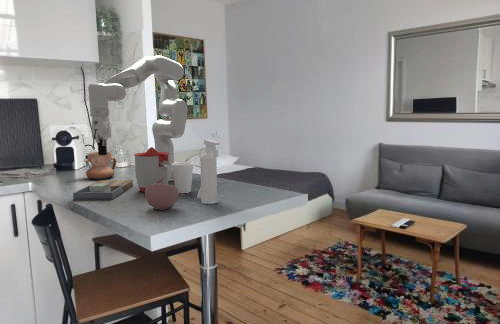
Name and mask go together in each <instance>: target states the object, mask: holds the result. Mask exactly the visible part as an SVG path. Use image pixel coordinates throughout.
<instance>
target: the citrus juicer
mask: <svg viewBox="0 0 500 324" xmlns="http://www.w3.org/2000/svg"><path fill="white" fill-rule="evenodd" d="M133 156H134V169H135V170H134V172H135V180H136V184H137V187H138V189H139V191H141V192H143V193H145V189H146V186H148V185H151V184H156V181H157V180H159V179H161V178H163V181H161V182H160V183H159V184H167V185H168V184H169V182H170V181H169V166H170V163H169V153H167V152H157V151H156V150H155V147H153V146H151V147H149V148H148V149H147V150H146V152H137V153H134V154H133Z"/></svg>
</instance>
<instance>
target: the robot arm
mask: <svg viewBox="0 0 500 324" xmlns="http://www.w3.org/2000/svg"><path fill="white" fill-rule="evenodd" d="M184 74H185V70H184V67H183V65H181V64H180V63H179V62H177V61H176V60H172V59H170V58H168V57H165V56H162V55H153V56H145V57H143V58H142V59H140V60H139V61H137V62H136V63H134V64H133V65H132V66H130V67H129V68H127V69H125V70H122V71H121V72H119V73H117V74H115V75H112V76H110V77H109V78H107V79H105V81H104V80H103V82H101V83H90V84H89V85H88V87H87V91H88V105H89V116H90V117H91V135H92V139H93V140H95V141H94V142H95V143H96V145H97V152H98V155H107V152H108V150H107V149H108V148H107V145H108V144H107V142H108V139H110V138H112V129H111V123H110V113H109V112H110V111H109V102H119V101H122V100H124V99H125V98H126V95H127V90H126V89H130V88H134V87H137V86H140V85H141V84H142V83H143V82H145V81H146V80H147V79H148V78H150V77H152V76H154V77H155V79H156V80H157V82H158V84H159V87H160V96H159V101H158V109H157V111H158V114H159V116H161V117H163V118H162V119H157V120H156V121H154V122H153V124H152V127H151V131H152V136H153V140H154V141H153V142H154V149H155V150H156V151H157V152H167V153H169V163H170V166H169V181H168V182H174V177H173V172H172V163H175V152H174V148H175V147H174V143H173V141H172V139H181V138H182V137H183V135H184V133H185V129H186V123H187V118H188V105H187V102H186V101H185V100H184V99H181V98H178V87H177V85H176V84H175V82H174V81H179V80H181V79H182V78H183V77H184ZM164 118H167V119H164ZM168 118H171V119H168Z"/></svg>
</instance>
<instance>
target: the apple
mask: <svg viewBox="0 0 500 324" xmlns="http://www.w3.org/2000/svg"><path fill="white" fill-rule="evenodd" d="M161 181H163V178H161V179H159V180H157V181H156V184H151V185H148V186H146V189H145V192H144V197H145V200H146V202H147V203H148V205H149V206H150V207H152V208H153V209H156V210H159V209H164V210H168V209H169V208H172V207H173V206H174V205H175V203H176V202H177V200H178V199H179V198H178V197H179V194H178V188H177V187H175V185H172V184H169V183H168V185H167V184H159V183H160V182H161Z"/></svg>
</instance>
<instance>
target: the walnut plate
mask: <svg viewBox="0 0 500 324" xmlns="http://www.w3.org/2000/svg"><path fill="white" fill-rule="evenodd" d="M95 183H109V187H111V189H117V188H119V187H120V186H122V189H123V193H122V194H124V193H125V192H127V191H128V190H129V189H131V188H133V187H134V180H133V179H129V180H127V179H122V180H121V179H120V180H119V179H118V180H117V179H115V180H114V179H113V180H111V179H109V180H105V179H98V180H97V181H95V182H93V183H91V184H89V185H87V186H86V187H88V189H89V186H91V185H93V184H95Z"/></svg>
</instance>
